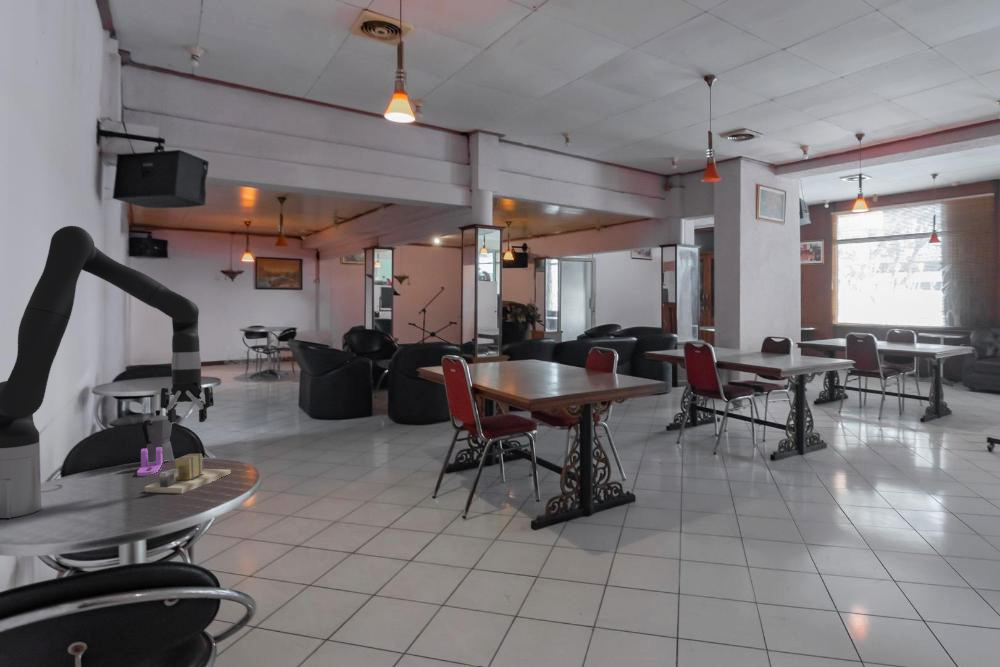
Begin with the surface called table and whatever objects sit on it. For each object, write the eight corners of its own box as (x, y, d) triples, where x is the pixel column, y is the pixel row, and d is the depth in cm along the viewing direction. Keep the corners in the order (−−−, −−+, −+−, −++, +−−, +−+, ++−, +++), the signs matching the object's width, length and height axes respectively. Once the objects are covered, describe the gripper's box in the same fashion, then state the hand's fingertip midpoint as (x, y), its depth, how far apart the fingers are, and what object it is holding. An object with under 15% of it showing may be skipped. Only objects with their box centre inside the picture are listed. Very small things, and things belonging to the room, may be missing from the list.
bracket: (143, 468, 182) (142, 447, 182) (162, 466, 184) (162, 445, 184) (135, 477, 170) (134, 455, 170) (156, 475, 173) (155, 453, 172)
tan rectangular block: (189, 479, 159) (189, 458, 159) (175, 480, 159) (175, 459, 159) (202, 473, 166) (202, 453, 166) (189, 473, 166) (188, 453, 166)
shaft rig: (181, 493, 151) (181, 473, 151) (144, 492, 154) (144, 472, 154) (230, 474, 171) (230, 456, 171) (197, 473, 173) (196, 456, 173)
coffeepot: (155, 457, 198) (154, 407, 197) (182, 456, 198) (181, 407, 198) (129, 468, 182) (128, 414, 182) (159, 467, 183) (157, 413, 183)
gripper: (154, 368, 158) (155, 425, 158) (204, 367, 159) (205, 423, 159) (169, 367, 166) (170, 420, 166) (216, 366, 166) (218, 419, 166)
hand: (187, 422), depth 162 cm, fingers open, 8 cm apart
